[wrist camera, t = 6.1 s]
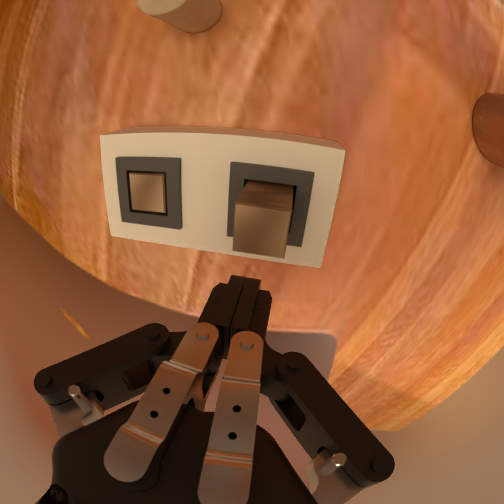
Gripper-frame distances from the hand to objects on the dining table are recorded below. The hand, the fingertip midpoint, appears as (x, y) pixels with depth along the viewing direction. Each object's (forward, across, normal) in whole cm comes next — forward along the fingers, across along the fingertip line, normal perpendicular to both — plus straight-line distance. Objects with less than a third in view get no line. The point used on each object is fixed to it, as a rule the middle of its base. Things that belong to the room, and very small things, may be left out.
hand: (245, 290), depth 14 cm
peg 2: (+14, 0, 0) cm, 14 cm away
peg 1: (+18, +12, 0) cm, 22 cm away
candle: (+19, +10, -20) cm, 29 cm away
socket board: (+18, +6, 0) cm, 19 cm away
